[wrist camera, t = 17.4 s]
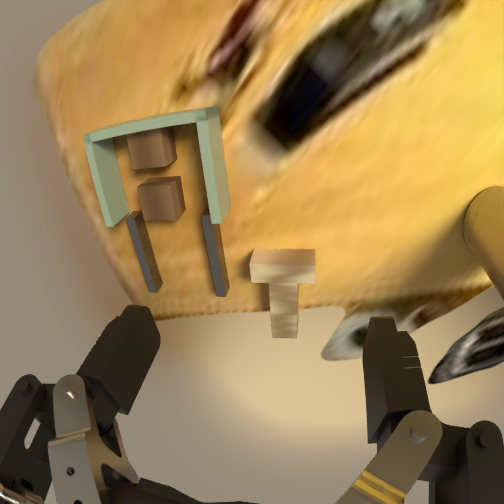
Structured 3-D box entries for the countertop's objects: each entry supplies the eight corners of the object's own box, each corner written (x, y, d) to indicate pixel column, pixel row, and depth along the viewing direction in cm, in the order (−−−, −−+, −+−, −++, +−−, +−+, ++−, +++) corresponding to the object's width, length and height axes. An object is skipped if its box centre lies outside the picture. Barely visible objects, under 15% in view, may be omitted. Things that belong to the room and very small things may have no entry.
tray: (218, 105, 27) (205, 109, 23) (230, 207, 32) (221, 223, 29) (103, 127, 29) (82, 135, 26) (123, 211, 35) (106, 226, 32)
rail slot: (216, 207, 33) (211, 215, 31) (229, 286, 39) (226, 296, 37) (133, 211, 35) (125, 218, 33) (155, 283, 41) (149, 292, 39)
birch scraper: (315, 265, 31) (311, 338, 37) (315, 248, 34) (312, 321, 40) (249, 263, 32) (257, 336, 38) (254, 248, 35) (261, 319, 41)
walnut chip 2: (180, 175, 32) (170, 185, 29) (186, 208, 34) (176, 220, 31) (149, 177, 32) (136, 187, 30) (155, 209, 34) (144, 220, 32)
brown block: (172, 122, 28) (160, 127, 26) (177, 158, 31) (166, 166, 28) (140, 127, 29) (126, 133, 27) (145, 161, 31) (132, 169, 29)
